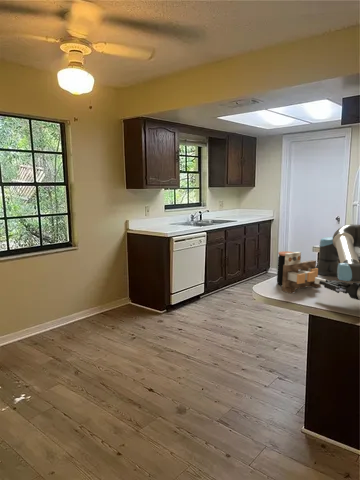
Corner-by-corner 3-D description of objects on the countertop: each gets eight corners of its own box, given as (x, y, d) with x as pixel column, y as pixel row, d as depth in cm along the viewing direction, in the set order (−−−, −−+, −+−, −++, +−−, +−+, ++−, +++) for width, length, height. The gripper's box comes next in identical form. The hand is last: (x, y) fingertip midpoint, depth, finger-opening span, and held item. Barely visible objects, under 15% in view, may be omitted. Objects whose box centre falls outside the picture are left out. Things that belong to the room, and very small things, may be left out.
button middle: (302, 277, 194) (302, 268, 194) (314, 280, 188) (315, 271, 187) (296, 278, 192) (296, 269, 191) (308, 281, 185) (309, 272, 184)
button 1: (292, 279, 190) (292, 270, 190) (304, 282, 183) (305, 273, 183) (286, 280, 188) (286, 271, 187) (298, 284, 181) (299, 274, 180)
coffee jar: (293, 287, 194) (295, 255, 191) (274, 284, 199) (275, 253, 197) (298, 283, 203) (300, 252, 200) (280, 280, 208) (281, 250, 206)
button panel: (311, 284, 201) (313, 249, 198) (320, 286, 196) (323, 251, 193) (281, 290, 189) (283, 253, 186) (290, 293, 184) (293, 255, 181)
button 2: (305, 273, 202) (305, 265, 202) (317, 277, 195) (318, 268, 195) (299, 274, 200) (300, 266, 199) (311, 278, 193) (312, 269, 192)
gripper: (352, 302, 154) (306, 289, 173) (368, 298, 160) (323, 285, 180) (353, 285, 152) (307, 274, 172) (370, 281, 159) (324, 271, 179)
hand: (315, 280), depth 176 cm, fingers closed
